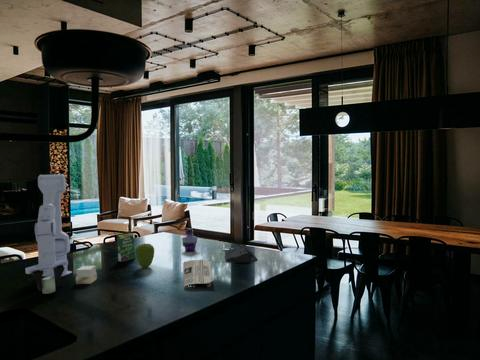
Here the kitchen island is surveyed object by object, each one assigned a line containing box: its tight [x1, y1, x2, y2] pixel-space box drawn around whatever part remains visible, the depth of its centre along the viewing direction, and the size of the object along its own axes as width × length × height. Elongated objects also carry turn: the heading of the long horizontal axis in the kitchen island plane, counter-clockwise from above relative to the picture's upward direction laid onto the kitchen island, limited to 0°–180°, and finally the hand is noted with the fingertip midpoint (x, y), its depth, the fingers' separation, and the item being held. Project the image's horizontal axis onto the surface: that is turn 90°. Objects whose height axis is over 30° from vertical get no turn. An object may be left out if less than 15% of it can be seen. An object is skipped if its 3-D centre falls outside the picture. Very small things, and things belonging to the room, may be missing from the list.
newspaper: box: [182, 259, 214, 290], centre depth 154 cm, size 35×12×4 cm, turn 9°
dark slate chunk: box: [224, 245, 258, 264], centre depth 182 cm, size 15×22×5 cm
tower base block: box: [75, 271, 98, 285], centre depth 149 cm, size 6×6×3 cm
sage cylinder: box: [41, 276, 56, 295], centre depth 138 cm, size 4×4×5 cm
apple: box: [135, 243, 155, 269], centre depth 166 cm, size 9×8×12 cm
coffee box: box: [116, 232, 136, 263], centre depth 180 cm, size 8×3×13 cm, turn 137°
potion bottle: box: [181, 227, 198, 253], centre depth 196 cm, size 9×9×12 cm
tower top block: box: [76, 265, 97, 277], centre depth 149 cm, size 6×6×3 cm
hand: (48, 287), depth 138 cm, fingers open, 5 cm apart
